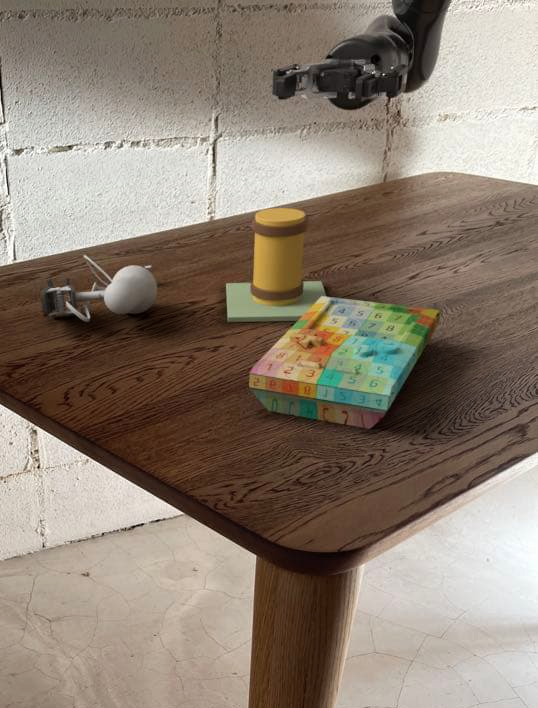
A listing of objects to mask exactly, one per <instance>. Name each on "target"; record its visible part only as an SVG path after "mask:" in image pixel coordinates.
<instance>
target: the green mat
mask: <svg viewBox="0 0 538 708" xmlns="http://www.w3.org/2000/svg"><path fill="white" fill-rule="evenodd" d="M303 283H304V288H303V293H302V295H300V299H299V301H297V302H296V303H293V304H290V305H284V306H269V305H263V304H260V303H257V302H255V301H254V300H253V295H252V294H251V292H250V285H251V282H229V283H228V282H226V284H225V293H226V311H227V313H226V315H227V323H257V322H258V323H264V322H297V321H298V320H299V319H300V318H301V317H302V316H303V315H304V314H305V313H306V312H307V311H308V310H309V309H310V308H311V307H312V306H313V305H314V304H315V303H316V302H317V301H318V299H319V298H320V297H321V296H325V297H327V293H326V291H325V287H324V285H323V282H322V281H321V280H316V281H313V280H311V281H310V280H309V281H308V280H307V281H303Z"/></svg>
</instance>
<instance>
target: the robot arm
mask: <svg viewBox="0 0 538 708" xmlns="http://www.w3.org/2000/svg"><path fill="white" fill-rule="evenodd" d="M452 2H453V0H391V10H392V13H393V14H394V15H392V14H391V15H390V14H381V15H378V16H377V17H376V18H375V19H374V20H373V21H371V22H370V24H369V25H368V26H367V27H366V28H365V31H364V32H363V33H360V34H358V35H355V36H353V37H349V38H347V39H344V40H342V41H340V42H338V43H337V44H335V45H334V46H333V47H331V49H330V50H329V52H328V53H327V55H325V57H324V59H323V61H321V62H320V61H319V62H312V63H304V64H303V65H302V67H301V64H298V63H292V64H290V65H286V66H284V67H281V68H276V69H274V70H272V87H271V88H272V89H271V90H272V91H271V94H272V96H275V97H277V99H278V100H279V101H286V100H288V99H290V98H293V97H296V96H300V97H301V98H304V99H317V98H323V99H327V100H328V102H329V103H330V104H331V105H333V107H335V108H338V109H340V110H344V111H356V110H360V109H362V108H364V107H367V105H370V104H371V103H373V102H376V101H377V100H378V99H380V98H382V97H383V96H384V95H385V97H386V98H389V99H395V98H397V97H398V96H400V95H401V94H406V95H407V94H408V95H409V94H413V93H415V92H417V91H419V90H420V89H422V88H423V87H424V86H425V85H426V84H427V83H428V81H429V80H430V79H431V77H432V75H433V72H434V71H435V68H436V65H437V62H438V58H439V55H440V48H441V41H442V34H443V28H444V26H445V25H444V24H445V20H446V16H447V13H448V10H449V8H450V6H451V4H452ZM313 89H314V90H315V91H314V90H313Z"/></svg>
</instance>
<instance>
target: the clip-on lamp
mask: <svg viewBox="0 0 538 708" xmlns="http://www.w3.org/2000/svg"><path fill="white" fill-rule="evenodd" d="M83 259H84V260H85V263H86V264H87V265H88V267H89V269H90V270H91V271H92V273H93V274H94V275H95V277H96V278H97V279H98V280H99V281H100V282H101V283H102V284H103V285H105V286H107V287H102V286H100V285H98V284H97V282H94V283H93V286H92V289H91V291H83V292H76V288H75V287H74V286H72V284H71V281H70V279H71V278H70V276H69V275H66V276H65V285H66V286H62V287H61V286H58V287H54V286H53V279H52V277H48V278H46V281H47V286H46V288H44V289H43V290H41V291H40V300H41V307H42V315H43V317H44V318H46V317H50V316H51V318H52V319H56V318H57V315H64V314H69V316H70V317H74V316H76V317H78V318H79V319H80V320H82V321H83V322H85V323H88V322H90V320H91V315H90V311H89V309H88V307H89V305H90V303H91V302H92V301H104V304H105V306H106V307H107V309H109V311H111V312H112V313H114V314H116V315H125V314H130V315H131V314H132V315H137V314H141V313H144V312H146V311H147V310H148V309H150V308H151V307H152V306H153V304H154V303H155V301H156V298H157V295H158V283H157V281H156V278H155V277H154V275H153V273H152V272H151V271H149V270H150V269H153V265H152V264H150V265H145V266H144V265H134V264H131V265H128V266H124V267H123V268H121V269H119V270H118V271H117V272H116V273H115V275H114V276H113V277H112V278H111V276H109V274H108V273H107V272H105V270H103V269H102V267H100V266H99V265H98V264H97V263H96V262H94V261H93V260H92V259H91V258H89V256H87V255H86V254H84V255H83ZM92 265H93V266H94V267H95V268H96V269H97V270H98V271H100V272H101V274H103V275H104V276H105V278H106V279H108V280H109V281H110V284H109V283H107V282H105V281H104V280H103V279H102V278H101V277H100V276H99V275H98V273H97V271H95V269H94V268H93V267H92ZM148 269H149V270H148ZM64 291H66V292H67V294H66V295H67V300H66V301H65V296H64V295H65V293H64ZM79 302H86V303H85V304H83V305H82V306H81V308H80V311H79V310H78V304H77V303H79ZM65 307H66V309H65ZM82 313H85V315H86V316H85V315H84V314H82Z"/></svg>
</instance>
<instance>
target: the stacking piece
mask: <svg viewBox="0 0 538 708" xmlns="http://www.w3.org/2000/svg"><path fill="white" fill-rule="evenodd" d="M251 222H252V225H251V227H252V228H251V229H252V231H253V232H254V248H253V249H254V251H253V275H252V276H253V279H252V280H251V281H250V283H251V285H250V292H251V294H252V295H253V300H254V301H255V302H257V303H260V304H263V305H269V306H284V305H290V304H293V303H296V302H297V301H299V299H300V295H302V293H303V288H304V283H303V282H304V281H303V280H302V276H303V274H302V273H303V259H304V243H305V232H307V230H308V228H309V227H308V225H309V218H308V217H307V216H306V213H305V212H304V211H302V210H300V209H296V208H290V207H275V208H268V209H261V210H259V211H258V212H256V213H255V216H254V217H253V218H252V221H251Z"/></svg>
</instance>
